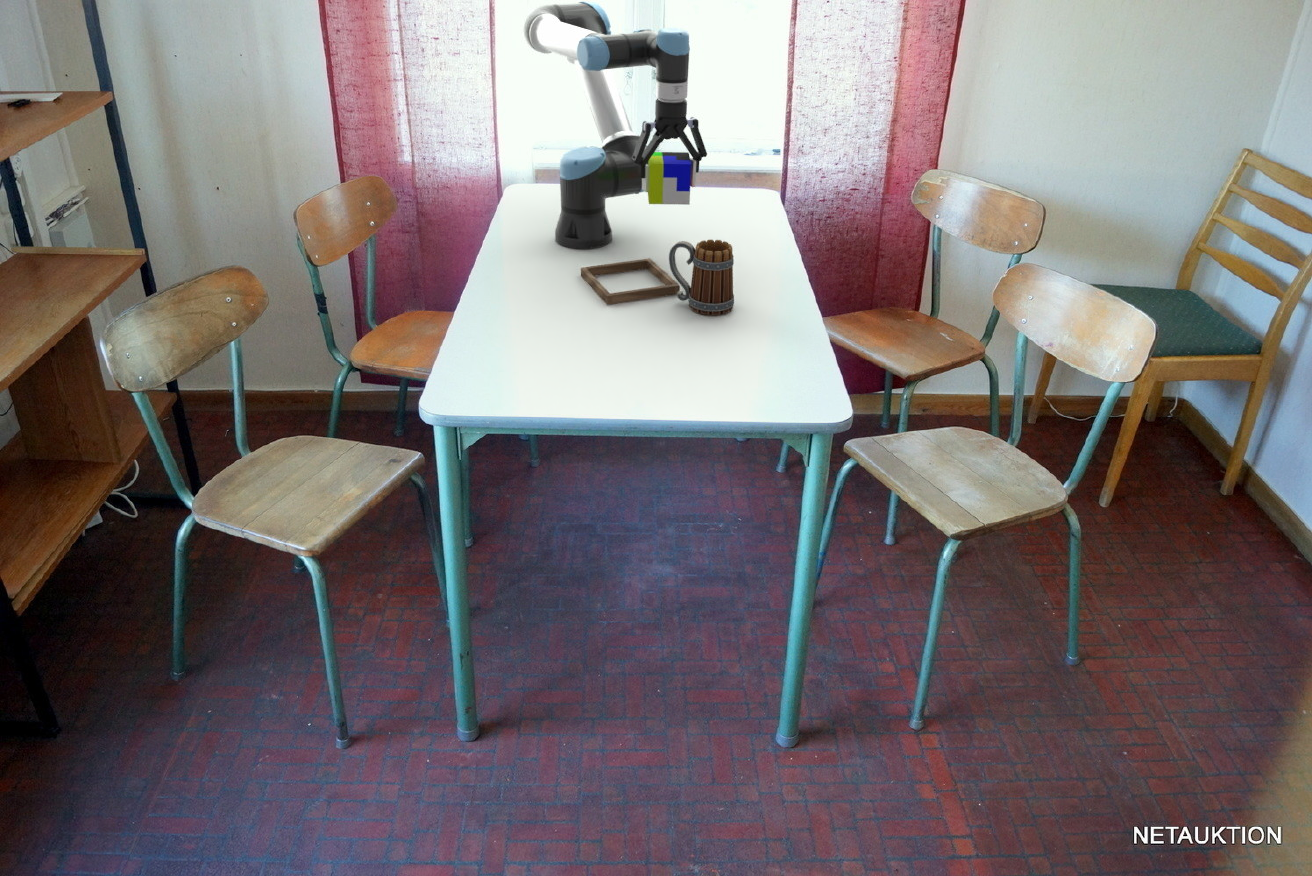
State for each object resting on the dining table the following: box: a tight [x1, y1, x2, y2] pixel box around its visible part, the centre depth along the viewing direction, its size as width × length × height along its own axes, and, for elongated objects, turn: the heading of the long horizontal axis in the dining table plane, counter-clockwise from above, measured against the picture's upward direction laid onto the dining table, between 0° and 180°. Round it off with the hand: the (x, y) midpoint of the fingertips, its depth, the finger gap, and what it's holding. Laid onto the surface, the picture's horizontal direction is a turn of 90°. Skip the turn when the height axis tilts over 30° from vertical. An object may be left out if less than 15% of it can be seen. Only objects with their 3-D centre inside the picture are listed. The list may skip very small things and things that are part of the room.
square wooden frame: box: [580, 257, 681, 306], centre depth 246 cm, size 18×18×2 cm
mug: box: [668, 239, 735, 317], centre depth 233 cm, size 16×11×15 cm
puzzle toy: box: [647, 151, 691, 205], centre depth 253 cm, size 10×10×10 cm
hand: (668, 188), depth 254 cm, fingers closed on puzzle toy, 12 cm apart
